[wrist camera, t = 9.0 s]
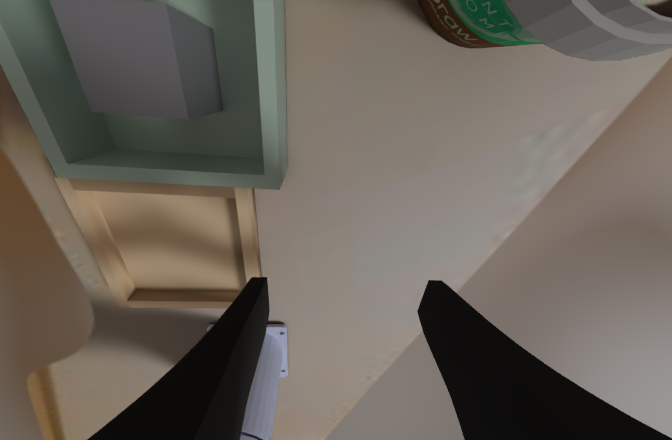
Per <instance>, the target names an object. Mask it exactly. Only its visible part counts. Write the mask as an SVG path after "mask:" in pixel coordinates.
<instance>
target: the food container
mask: <svg viewBox="0 0 672 440" xmlns="http://www.w3.org/2000/svg"><path fill="white" fill-rule="evenodd" d="M418 2H419V6H420V8H421V10H422V12H423V13H424V15H425V17H426V19H427V21H428V22H429V24H430V26H431V27H432V28H433V29H434V30H435V31H436V32H437V33H438V35H440V36H441V37H442V38H444V39H445V40H447V41H448V42H450V43H452V44H455V45H457V46H460V47H466V48H489V47H503V46H516V45H529V44H544V45H546V46H548V47H550V48H552V49H554V50H556V51H558V52H561V53H563V54H565V55H567V56H571V57H576V58H581V59H586V60H591V61H609V60H623V59H628V58H633V57H638V56H644V55H648V54H652V53H656V52H659V51H663V50H667V49H670V48H672V0H418Z"/></svg>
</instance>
